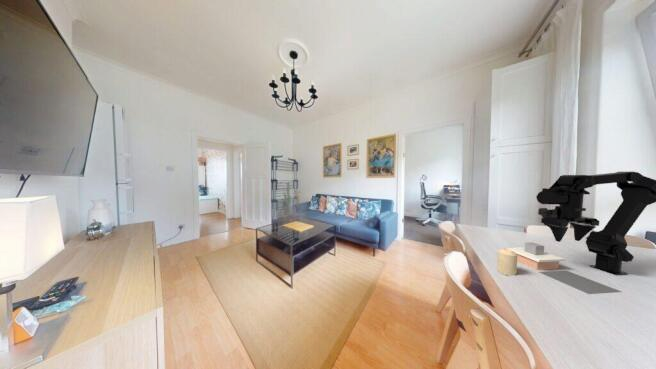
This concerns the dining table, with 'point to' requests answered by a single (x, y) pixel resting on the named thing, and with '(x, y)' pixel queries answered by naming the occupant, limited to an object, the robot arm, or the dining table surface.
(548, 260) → the lid
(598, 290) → the mat
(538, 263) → the dish
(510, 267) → the candle
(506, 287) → the dining table surface
